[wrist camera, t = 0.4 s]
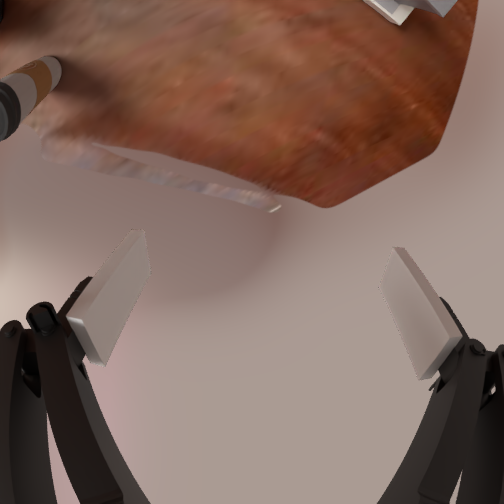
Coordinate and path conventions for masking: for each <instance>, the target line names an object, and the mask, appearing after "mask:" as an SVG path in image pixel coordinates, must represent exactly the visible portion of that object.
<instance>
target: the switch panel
mask: <svg viewBox="0 0 504 504" xmlns="http://www.w3.org/2000/svg"><path fill="white" fill-rule="evenodd" d="M363 1H364V2H365V3H367V4H368V5H369V6H371V7H372V8H373V9H375V10H376V11H377V12H378V13H380V14H381V15H382V16H383V17H385V18H386V19H387V20H388V21H389V22H392V23H395V24H397V25H401V24H402V23H403V21H404V20H405V19H406V18H407V17H408V15H409V14H410V13H411V12H412V11H413V9H414V8H415V7H411V6H407V5H402V4H398V3H397V2H395V1H394V0H363Z"/></svg>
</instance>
